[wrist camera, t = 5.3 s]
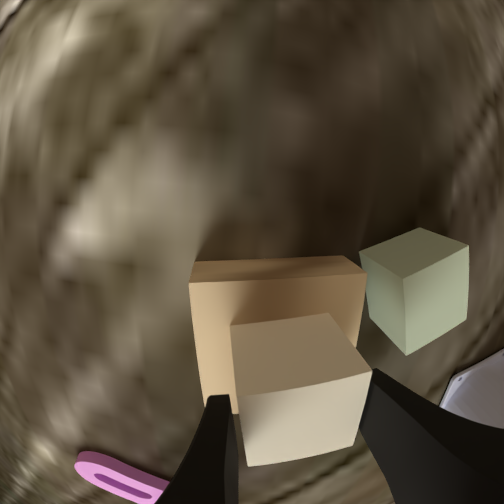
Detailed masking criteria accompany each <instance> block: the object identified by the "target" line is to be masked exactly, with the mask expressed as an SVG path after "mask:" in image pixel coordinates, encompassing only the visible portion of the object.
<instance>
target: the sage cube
mask: <svg viewBox="0 0 504 504" xmlns="http://www.w3.org/2000/svg"><path fill="white" fill-rule="evenodd" d="M359 255H360V260H361V265H362V269H363V270H364V271H366V272H367V273H368V274H367V282H366V295H367V301H368V308H369V316H370V318H371V319H372V320H373V321H374V322H375V323H376V324H377V325H378V326H379V328H380V329H381V330H382V331H383V332H384V333H385V334H386V335H387V336H388V337H389V338H390V339H391V340H392V341H393V342H394V343H395V344H396V345H397V347H398V348H399V349H400V350H401V351H402V352H403V353H404V354H405V355H408V354H410V353H412V352H414V351H416V350H417V349H419V348H421V347H423V346H424V345H426V344H428V343H429V342H431V341H433V340H434V339H436V338H438V337H439V336H441V335H443V334H444V333H446V332H447V331H449V330H451V329H452V328H454V327H455V326H457V325H458V324H460V323H461V322H463V321H464V320H466V317H467V305H468V288H469V245H466V244H464V243H461V242H458V241H456V240H453V239H450V238H448V237H445V236H442V235H439V234H437V233H434V232H431V231H428V230H425V229H422V228H417V229H414V230H412V231H409V232H407V233H404V234H402V235H399V236H397V237H395V238H392V239H390V240H387V241H385V242H382V243H379V244H377V245H374V246H372V247H369V248H367V249H364V250H362V251H359Z"/></svg>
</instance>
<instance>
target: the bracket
mask: <svg viewBox="0 0 504 504" xmlns="http://www.w3.org/2000/svg"><path fill="white" fill-rule="evenodd" d="M75 469H76V471H77V472H78V473H79V474H80V475H81V476H82V477H83V478H84V479H86V480H87V481H89V482H91V483H92V484H94V485H96V486H98V487H101V488H103V489H105V490H107V491H109V492H112V493H114V494H116V495H119V496H121V497H123V498H126V499H128V500H131V501H134V502H136V503H139V504H154V503H155V502H156V501H157V499H158V498H159V497H160V495H161V494H162V493H163V491H164V490H165V488H166V487H167V485H168V484H169V483H170V482H169V481H166V480H163V479H161V478H158V477H155V476H153V475H150V474H148V473H145V472H143V471H141V470H138V469H136V468H134V467H132V466H129V465H127V464H125V463H123V462H121V461H119V460H117V459H114V458H112V457H110V456H107V455H104V454H101V453H97V452H92V451H83V452H80V453H79V455H78V457H77V460H76V463H75Z"/></svg>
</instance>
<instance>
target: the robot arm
mask: <svg viewBox="0 0 504 504" xmlns="http://www.w3.org/2000/svg"><path fill="white" fill-rule="evenodd" d="M371 370H372V375H371V380H370V384H369V388H368V393H367V397H366V401H365V405H364V408H363V412H362V416H361V419H360V423H359V429H360V431H361V434H362V436H363V437H364V439H365V441H366V443H367V445H368V447H369V449H370V450H371V452H372V454H373V456H374V458H375V460H376V461H377V463H378V465H379V467H380V469H381V470H382V472H383V474H384V476H385V478H386V480H387V482H388V485H389V487H390V490H391V493H392V495H393V498H394V501H395V503H396V504H504V349H502V350H500V351H499V352H497V353H495V354H494V355H492V356H490V357H488V358H487V359H485V360H483V361H481V362H479V363H477V364H476V365H474V366H472V367H470V368H468V369H466V370H464V371H462V372H460V373H458V374H456V375H454V376H453V377H452V379H451V381H450V383H449V385H448V388H447V390H446V392H445V395H444V397H443V399H442V401H441V404H440V406H437V405H435V404H434V403H432V402H430V401H428V400H426V399H425V398H423V397H421V396H420V395H418V394H416V393H415V392H413V391H411V390H410V389H408V388H407V387H405V386H403V385H402V384H400V383H399V382H397V381H396V380H394V379H393V378H391V377H390V376H388V375H387V374H385V373H383V372H382V371H380V370H379V369H377V368H375V369H371ZM154 504H238V450H237V440H236V431H235V426H234V420H233V414H232V408H231V402H230V396H229V394H221V395H210V396H209V397H208V398H207V402H206V406H205V410H204V413H203V416H202V419H201V421H200V424H199V427H198V429H197V431H196V434H195V436H194V438H193V440H192V443H191V445H190V447H189V449H188V451H187V453H186V455H185V457H184V459H183V461H182V462H181V464H180V466H179V468H178V470H177V471H176V473H175V475H174V476H173V478H172V479H171V481H170V483H169V484H168V485H167V487H166V488H165V490H164V491H163V493H162V494H161V495H160V497H159V498H158V499H157V501H156V502H155V503H154Z"/></svg>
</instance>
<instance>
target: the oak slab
mask: <svg viewBox="0 0 504 504" xmlns="http://www.w3.org/2000/svg"><path fill="white" fill-rule="evenodd" d="M367 274H368V273H367V272H366V271H364V270H363V269H361V268H360V267H359V266H357V265H356V264H354V263H353V262H352V261H350V260H349V259H347V258H346V257H345V256H343V255H339V256H318V257H295V258H272V259H248V260H223V261H197V262H194V265H193V269H192V273H191V276H190V280H189V291H190V301H191V311H192V320H193V329H194V337H195V345H196V352H197V360H198V367H199V373H200V380H201V387H202V393H203V399H204V405H205V406H206V402H207V398H208V397H209V396H210V395H221V394H229V396H230V402H231V408H232V414H237V413H239V410H238V404H237V397H236V388H235V379H234V369H233V358H232V348H231V337H230V326H231V325H240V324H249V323H258V322H266V321H274V320H282V319H289V318H297V317H303V316H310V315H317V314H323V313H329V314H330V315H331V317H332V318H333V319H334V321H335V322H336V323H337V324H338V326H339V327H340V328H341V330H342V331H343V332H344V334H345V335H346V336H347V338H348V339H349V340H350V342H351V343H352V344H353V346H354V347H355V348H356V344H357V339H358V333H359V328H360V322H361V316H362V310H363V303H364V297H365V289H366V282H367Z"/></svg>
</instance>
